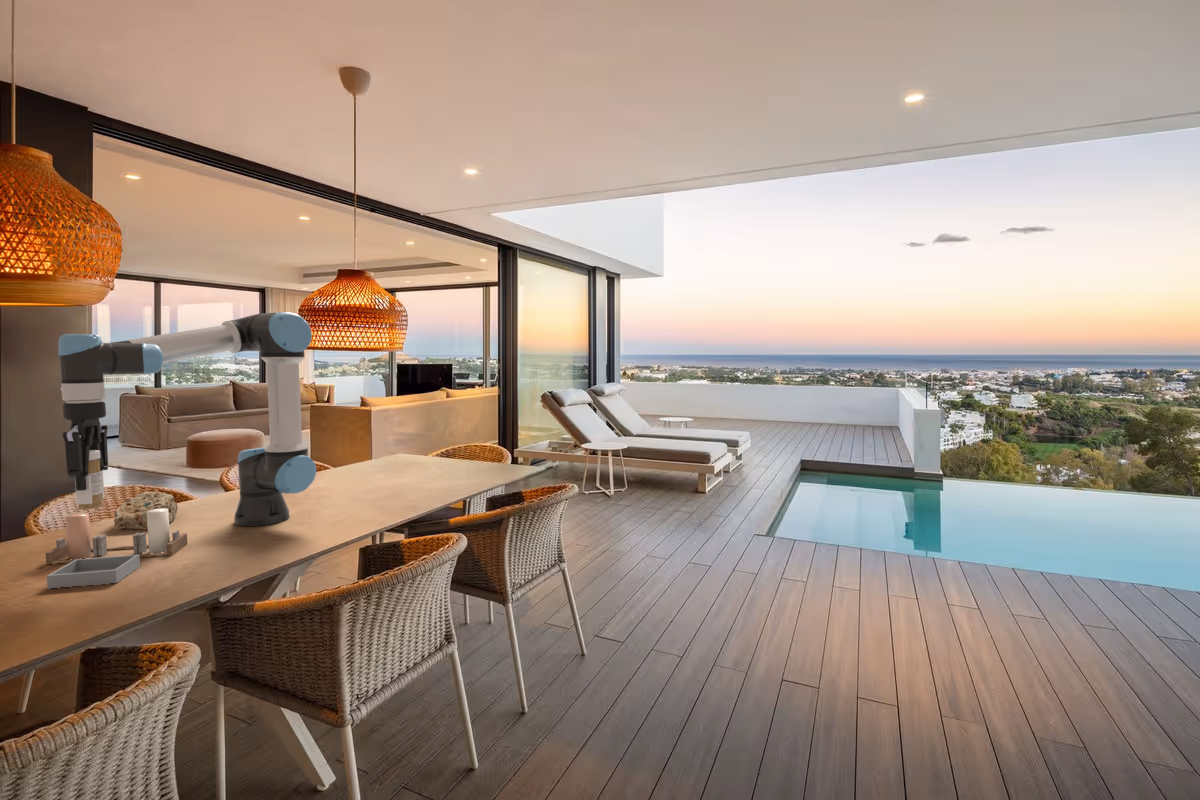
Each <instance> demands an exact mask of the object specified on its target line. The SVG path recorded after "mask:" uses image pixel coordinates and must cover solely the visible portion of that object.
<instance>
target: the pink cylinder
mask: <svg viewBox="0 0 1200 800" xmlns="http://www.w3.org/2000/svg"><path fill="white" fill-rule="evenodd" d="M64 518H65V532H66V534H65V535H66V542H67V549H68V556H67V560H69V559H80V558H84V557H87V558H89V557H88V556H90V555H91V556H92V555H93V554H92V552H91V549H92V543H91V542H92V539H91V528H90V527H91V525H90V514H89V513H88V512H78V513H72V514H68V515H65V517H64ZM91 556H90V557H91ZM84 559H85V558H84Z"/></svg>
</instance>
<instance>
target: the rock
mask: <svg viewBox="0 0 1200 800" xmlns="http://www.w3.org/2000/svg"><path fill="white" fill-rule="evenodd" d="M161 508H166V509H168V514H169V524H171V523H172V522H173V520H175V519H176V518H177V517H176V516H177V514H178V513H177V512H178V508H179V506H178V504H177V503H176V501H175V497H174V496H173V494H169V493H164V492H161V491H155V490H150V491H143V492H141V493H138V494H137V495H135V496H134V497H128V498H127V499H126V500H125V501H124V502H123V503H122V504H121V505H120V506H119V507H118V508H116V509H115V510H114V511H113V512H114V520H113V522H114V525H115V527H116V529H117V530H121V529H126V528H127V529H136V530H146V529H148V524H147V511H149V510H153V509H161ZM170 522H171V523H170Z"/></svg>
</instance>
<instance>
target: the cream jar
mask: <svg viewBox="0 0 1200 800" xmlns="http://www.w3.org/2000/svg"><path fill="white" fill-rule="evenodd" d="M147 524H148V530H147V537H148V541H147V542H148V545H149V548H148V554H150V553H161V552H164V553H167V552H166V551H167V548H166V544H168V543H169V542H171V535H170V534H171V532H170V523H169V514H168V509H166V508H161V509H153V510H149V511H147Z"/></svg>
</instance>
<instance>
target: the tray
mask: <svg viewBox="0 0 1200 800" xmlns="http://www.w3.org/2000/svg"><path fill="white" fill-rule="evenodd" d="M140 567H141V558H140V554H130V555H129V554H128V555H127V556H126V555H115V556H102V557H100V558H99V557H87V558H86V559H85V558H84V559H76V560H74V561H72V562H70V563H66V564H65V565H63V566H62V567H60V568H58V569H56V570H55V571H53V572H51V573H49V574H48V575H46V585H47V586H46V587H47V590H52V589H51V588H58V589H61V588H60V587H70V588H73V587H72V586H82V587H88V586H87V585H94V586H102V585H101V584H106V585H111V584H110V583H117V582H118V583H119V581H120V580H121V581H123V580H124V579H125V578H127V577H128V576H129V575H131V574H132V573H134V572H135V571H137V570H138V569H140ZM137 568H138V569H137ZM134 570H135V571H134ZM133 571H134V572H133ZM130 573H131V574H130ZM127 575H128V576H127ZM126 576H127V577H126ZM124 577H125V578H124ZM123 578H124V579H123ZM121 581H120V582H121ZM118 583H117V584H118Z"/></svg>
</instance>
